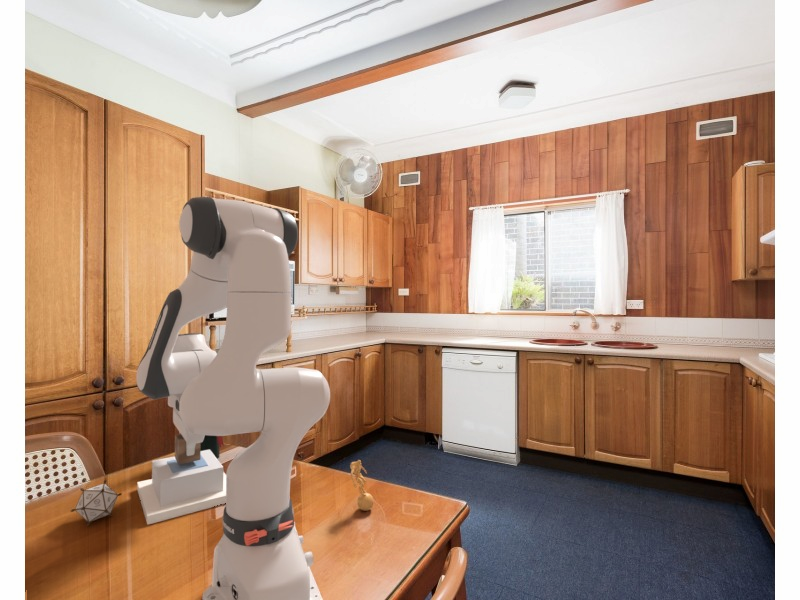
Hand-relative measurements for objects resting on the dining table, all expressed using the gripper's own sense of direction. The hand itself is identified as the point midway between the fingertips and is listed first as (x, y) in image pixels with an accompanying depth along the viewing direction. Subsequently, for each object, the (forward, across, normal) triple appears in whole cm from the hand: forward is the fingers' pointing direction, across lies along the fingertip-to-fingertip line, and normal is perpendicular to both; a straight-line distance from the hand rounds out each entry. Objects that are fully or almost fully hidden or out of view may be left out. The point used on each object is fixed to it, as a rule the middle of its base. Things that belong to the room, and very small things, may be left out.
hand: (187, 450), depth 110 cm
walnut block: (+2, 0, 0) cm, 2 cm away
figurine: (+12, +31, +33) cm, 47 cm away
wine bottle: (+12, -21, +10) cm, 26 cm away
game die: (+12, +1, -19) cm, 22 cm away
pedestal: (+12, 0, 0) cm, 12 cm away
